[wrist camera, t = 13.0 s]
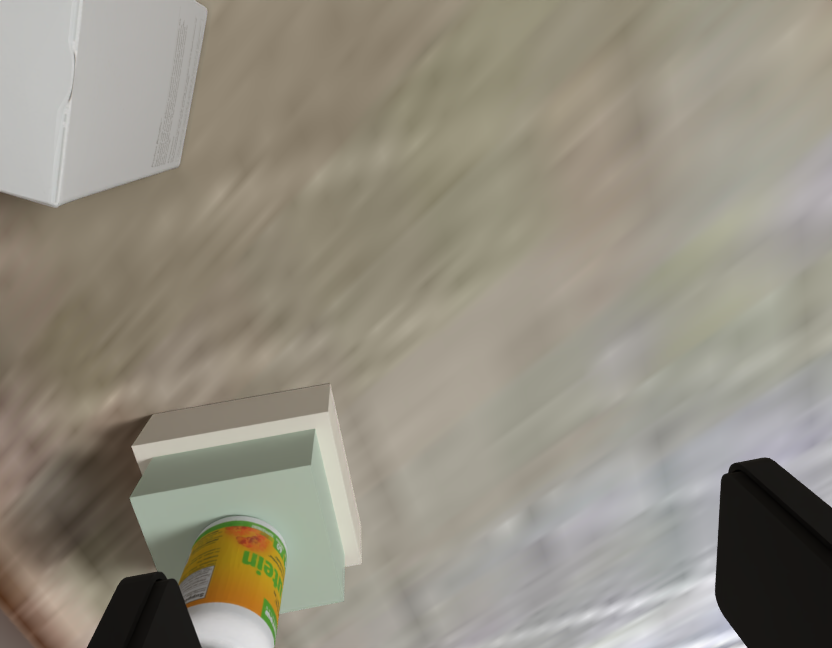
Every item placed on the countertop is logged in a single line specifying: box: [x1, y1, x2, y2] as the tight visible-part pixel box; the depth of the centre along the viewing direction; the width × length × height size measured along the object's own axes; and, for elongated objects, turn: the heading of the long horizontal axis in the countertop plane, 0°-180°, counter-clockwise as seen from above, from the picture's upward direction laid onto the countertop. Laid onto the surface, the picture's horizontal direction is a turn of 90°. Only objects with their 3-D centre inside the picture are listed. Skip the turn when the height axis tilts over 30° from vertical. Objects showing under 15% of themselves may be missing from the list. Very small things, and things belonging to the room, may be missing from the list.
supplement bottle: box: [178, 516, 287, 648], centre depth 29 cm, size 5×5×10 cm
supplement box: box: [0, 0, 207, 208], centre depth 24 cm, size 9×9×15 cm
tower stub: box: [130, 384, 362, 614], centre depth 37 cm, size 12×12×8 cm
